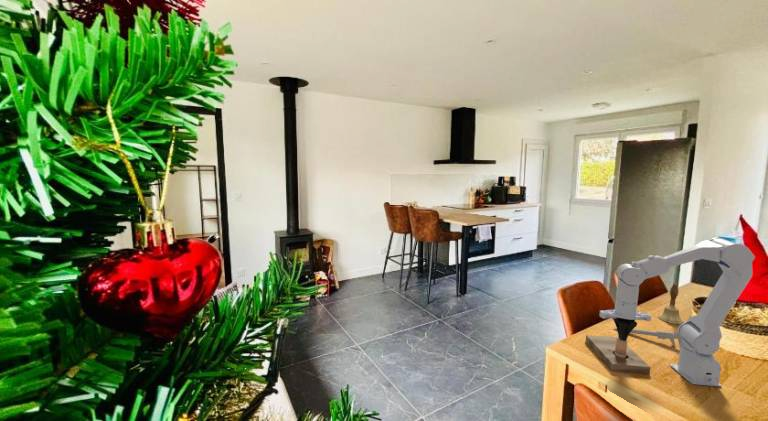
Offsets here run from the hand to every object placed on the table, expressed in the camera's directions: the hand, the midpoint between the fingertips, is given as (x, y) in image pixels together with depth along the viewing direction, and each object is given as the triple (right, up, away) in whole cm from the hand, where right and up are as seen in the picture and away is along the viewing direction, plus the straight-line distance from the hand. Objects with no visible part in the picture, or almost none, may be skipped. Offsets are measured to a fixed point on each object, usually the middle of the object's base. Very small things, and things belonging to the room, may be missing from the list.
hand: (622, 339), depth 107 cm
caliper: (+21, -7, +16) cm, 28 cm away
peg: (0, -8, +1) cm, 8 cm away
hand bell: (+44, -4, +31) cm, 54 cm away
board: (0, -8, +4) cm, 9 cm away
